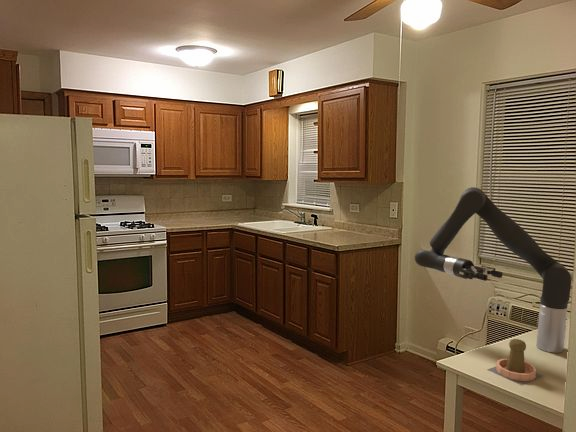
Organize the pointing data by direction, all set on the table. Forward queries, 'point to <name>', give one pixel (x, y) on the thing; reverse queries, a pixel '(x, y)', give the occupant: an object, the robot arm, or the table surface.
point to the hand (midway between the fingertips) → (494, 276)
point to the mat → (515, 380)
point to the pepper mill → (516, 356)
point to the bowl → (527, 376)
